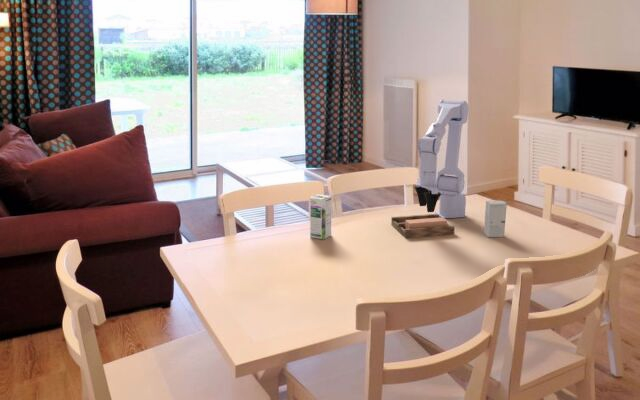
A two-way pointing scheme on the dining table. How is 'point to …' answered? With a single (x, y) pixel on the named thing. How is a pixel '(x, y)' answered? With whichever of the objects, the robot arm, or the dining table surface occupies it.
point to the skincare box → (495, 218)
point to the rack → (420, 232)
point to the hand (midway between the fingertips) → (426, 208)
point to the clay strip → (425, 223)
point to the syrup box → (320, 216)
